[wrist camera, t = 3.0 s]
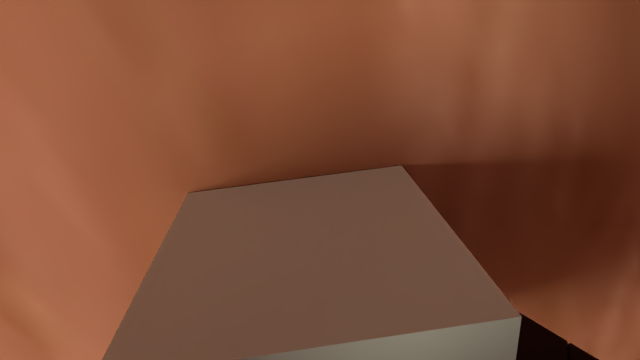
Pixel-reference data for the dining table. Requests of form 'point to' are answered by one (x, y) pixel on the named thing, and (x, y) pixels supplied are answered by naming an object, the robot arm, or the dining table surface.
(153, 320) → the sage block
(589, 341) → the dining table surface
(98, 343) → the dining table surface
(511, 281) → the dining table surface
